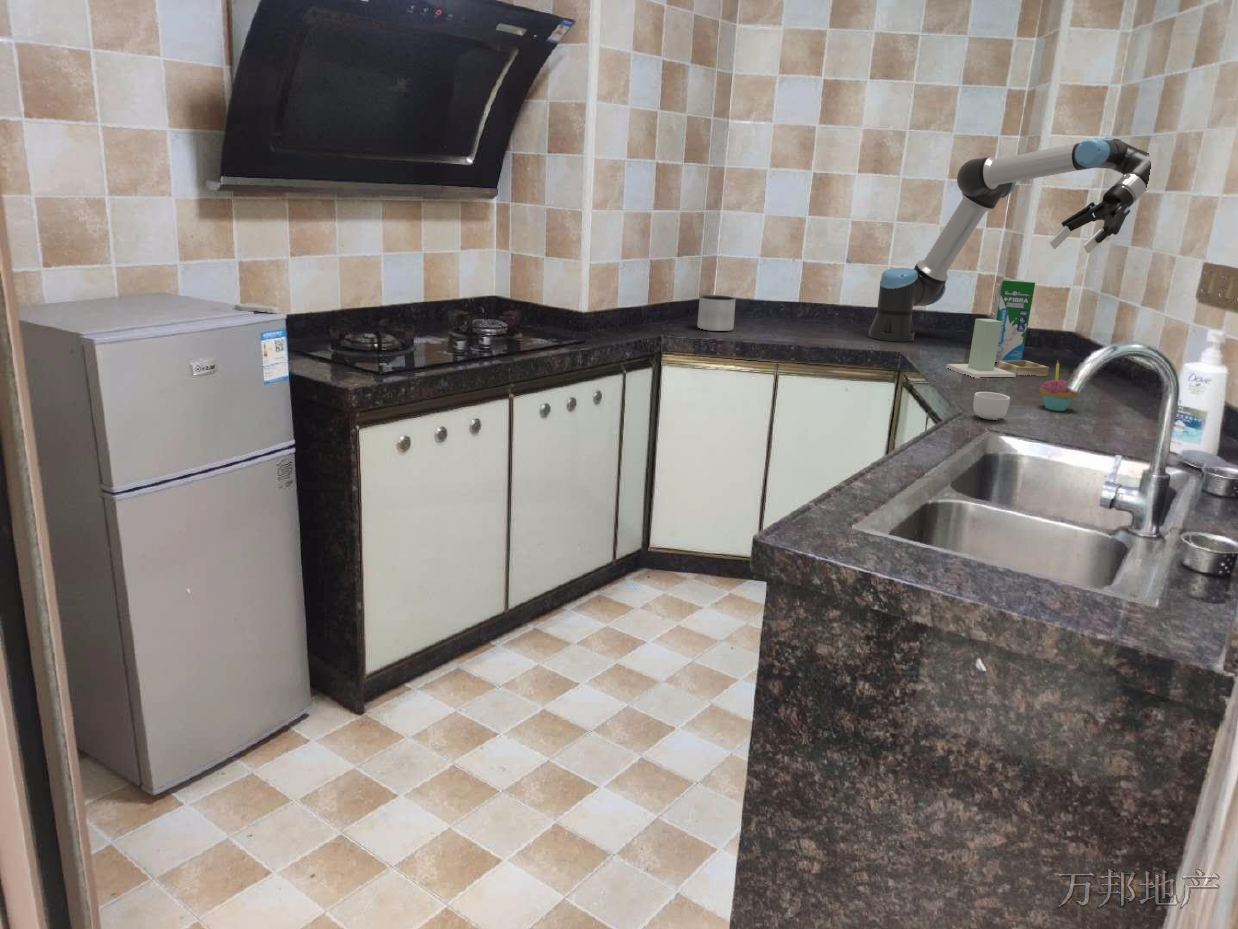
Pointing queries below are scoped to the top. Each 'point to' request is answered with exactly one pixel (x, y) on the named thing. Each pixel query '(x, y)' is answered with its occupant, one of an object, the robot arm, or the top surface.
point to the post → (984, 344)
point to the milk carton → (1013, 318)
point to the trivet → (977, 374)
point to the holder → (1023, 368)
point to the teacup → (990, 404)
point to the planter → (716, 313)
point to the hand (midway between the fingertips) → (1068, 247)
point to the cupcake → (1056, 393)
